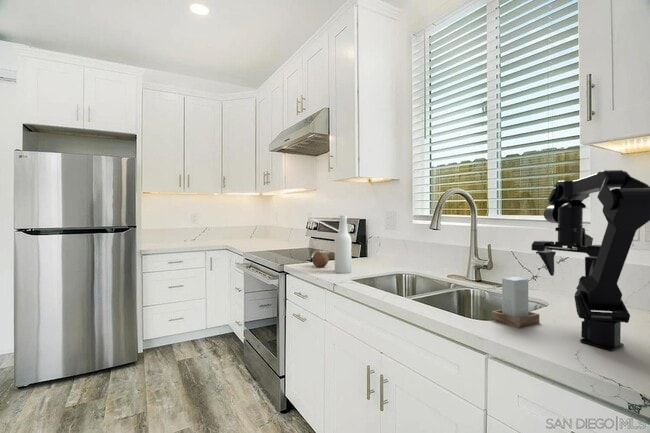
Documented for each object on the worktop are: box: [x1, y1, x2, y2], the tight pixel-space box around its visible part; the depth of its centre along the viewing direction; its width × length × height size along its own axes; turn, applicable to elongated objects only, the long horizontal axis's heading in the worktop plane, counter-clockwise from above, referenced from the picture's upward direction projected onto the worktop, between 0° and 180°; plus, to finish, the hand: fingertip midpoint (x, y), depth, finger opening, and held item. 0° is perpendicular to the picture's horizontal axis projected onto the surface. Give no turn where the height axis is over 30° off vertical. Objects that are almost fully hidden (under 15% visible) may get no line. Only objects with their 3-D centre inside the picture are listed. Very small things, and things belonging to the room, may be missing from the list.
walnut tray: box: [491, 308, 540, 329], centre depth 98 cm, size 8×10×2 cm
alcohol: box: [334, 214, 352, 274], centre depth 176 cm, size 9×9×30 cm
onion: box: [311, 251, 329, 268], centre depth 192 cm, size 10×9×10 cm
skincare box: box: [501, 276, 529, 318], centre depth 98 cm, size 6×4×12 cm
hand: (569, 278), depth 96 cm, fingers open, 9 cm apart
